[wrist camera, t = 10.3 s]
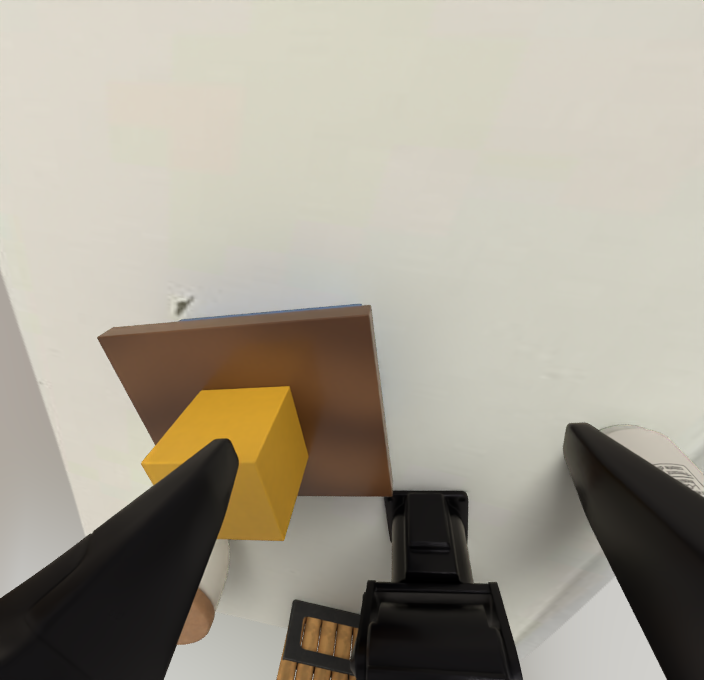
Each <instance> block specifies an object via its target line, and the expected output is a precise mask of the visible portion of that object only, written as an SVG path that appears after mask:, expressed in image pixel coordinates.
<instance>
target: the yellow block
mask: <svg viewBox="0 0 704 680" xmlns="http://www.w3.org/2000/svg"><path fill="white" fill-rule="evenodd" d="M221 438H227V439H229V440H231V442H232V444H233V447H234V449H235V451H236V453H237V456H238V458H239V467H238V471H237V475H236V478H235V482H234V486H233V489H232V493H231V497H230V501H229V504H228V508H227V511H226V515H225V518H224V521H223V524H222V527H221V529H220V532H219V534H218V537H217V539H234V540H268V541H284V539H285V536H286V532H287V529H288V525H289V522H290V519H291V515H292V512H293V508H294V505H295V502H296V498H297V495H298V491H299V488H300V484H301V481H302V478H303V474H304V471H305V467H306V464H307V460H308V457H309V456H308V452H307V448H306V445H305V441H304V437H303V434H302V430H301V426H300V423H299V419H298V415H297V412H296V408H295V404H294V401H293V397H292V393H291V390H290V387H289V386H280V387H259V388H239V389H219V390H202V391H200V392H199V393H198V395H197V396H196V397H195V398H194V399H193V401H192V402H191V403H190V404H189V406H188V407H187V408H186V409H185V410H184V412H183V413H182V414H181V415H180V416H179V418H178V419H177V420H176V421H175V422H174V424H173V425H172V426H171V427H170V428H169V430H168V431H167V432H166V433H165V435H164V436H163V437H162V438H161V439H160V441H159V442H158V443H157V444H156V445H155V447H154V448H153V449H152V450H151V451H150V453H149V454H148V455H147V456H146V457H145V459H144V460H143V461H142V463H141V465H142V466H143V468H144V470H145V472H146V473H147V475H148V477H149V478H150V480H151V482H152V483H153V485H155V484H156V483H158V482H159V481H160V480H161V479H163V478H164V477H165V476H167V475H168V474H169V473H171V472H172V471H173V470H175V469H176V468H177V467H179V466H180V465H181V464H182V463H184V462H185V461H186V460H188V459H189V458H190V457H192V456H193V455H194V454H196V453H197V452H198V451H200V450H201V449H202V448H203V447H205V446H206V445H207V444H209V443H210V442H211V441H213V440H214V439H221Z"/></svg>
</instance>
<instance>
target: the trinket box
mask: <svg viewBox="0 0 704 680" xmlns="http://www.w3.org/2000/svg"><path fill="white" fill-rule="evenodd" d="M229 561H230V549H229V542H228V539H217V540H216V542H215V545H214V548H213V550H212V553H211V556H210V558H209V561H208V564H207V566H206V569H205V572H204V574H203V577H202V579H201V582H200V585H199V587H198V590H197V593H196V595H195V598H194V601H193V603H192V606H191V609H190V611H189V614H188V617H187V619H186V622H185V624H184V627H183V630H182V632H181V635H180V638H179V640H178V643H177V645H184V644H190V643H194V642H197V641H199V640H201V639H202V638H204V637H205V636H206V635H207V634H208V632H209V630H210V627H211V625H212V622H213V620H214V615H215V611H216V608H217V606H218V603H219V601H220V598H221V595H222V592H223V589H224V586H225V582H226V578H227V574H228V568H229Z"/></svg>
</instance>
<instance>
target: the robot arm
mask: <svg viewBox="0 0 704 680" xmlns="http://www.w3.org/2000/svg"><path fill="white" fill-rule="evenodd" d="M563 454H564V458H565V460H566V463H567V466H568V469H569V471H570V474H571V477H572V479H573V482H574V485H575V488H576V490H577V493H578V496H579V498H580V501H581V504H582V507H583V509H584V512H585V514H586V517H587V519H588V521H589V523H590V526H591V528H592V530H593V532H594V534H595V536H596V538H597V540H598V542H599V544H600V546H601V548H602V550H603V552H604V554H605V556H606V558H607V560H608V562H609V564H610V566H611V568H612V570H613V572H614V574H615V576H616V578H617V580H618V582H619V584H620V586H621V588H622V590H623V592H624V594H625V596H626V598H627V600H628V602H629V604H630V606H631V608H632V610H633V612H634V614H635V616H636V618H637V620H638V622H639V624H640V626H641V628H642V630H643V632H644V634H645V636H646V638H647V640H648V642H649V644H650V646H651V648H652V650H653V652H654V654H655V656H656V658H657V660H658V662H659V665H660V667H661V668H662V671H663V673H664V674H665V677H666V678H667V680H704V497H703V496H702V495H700V494H698V493H697V492H695V491H694V490H692V489H691V488H689V487H687V486H686V485H684V484H683V483H681V482H680V481H678V480H676V479H675V478H673V477H672V476H670V475H669V474H667V473H665V472H664V471H662V470H661V469H659V468H658V467H656V466H654V465H653V464H651V463H650V462H648V461H647V460H645V459H643V458H642V457H640V456H639V455H637V454H636V453H634V452H632V451H631V450H629V449H628V448H626V447H625V446H623V445H622V444H620V443H618V442H617V441H615V440H614V439H612V438H611V437H609V436H607V435H606V434H604V433H603V432H601V431H600V430H598V429H596V428H595V427H593V426H592V425H590V424H588V423H570V424H568V425H567V427H566V432H565V438H564V444H563ZM238 467H239V458H238V456H237V453H236V451H235V449H234V447H233V444H232V442H231V440H229V439H227V438H221V439H214V440H213V441H211V442H210V443H209V444H207V445H206V446H205V447H203V448H202V449H201V450H200V451H198V452H197V453H196V454H194V455H193V456H192V457H190V458H189V459H188V460H186V461H185V462H184V463H182V464H181V465H180V466H179V467H177V468H176V469H175V470H173V471H172V472H171V473H169V474H168V475H167V476H165V477H164V478H163V479H161V480H160V481H159V482H158V483H156V484H155V485H154V486H152V487H151V488H150V489H148V490H147V491H146V492H144V493H143V494H142V495H140V496H139V497H138V498H136V499H135V500H134V501H133V502H131V503H130V504H129V505H127V506H126V507H125V508H123V509H122V510H121V511H119V512H118V513H117V514H115V515H114V516H113V517H111V518H110V519H109V520H108V521H106V522H105V523H104V524H102V525H101V526H100V527H98V528H97V529H96V530H94V531H93V533H92V534H89V535H88V536H86V537H85V538H84V539H83V540H81V541H80V542H79V543H77V544H76V545H75V546H73V547H72V548H71V549H69V550H68V551H67V552H65V553H64V554H63V555H61V556H60V557H58V558H57V559H56V560H54V561H53V562H52V563H50V564H49V565H48V566H46V567H45V568H43V569H42V570H41V571H39V572H38V573H36V574H35V575H34V576H32V577H31V578H29V579H28V580H26V581H25V582H23V583H22V584H21V585H19V586H18V587H16V588H15V589H13V590H12V591H10V592H9V593H7V594H6V595H4V596H3V597H2V598H0V680H164V677H165V675H166V672H167V669H168V667H169V664H170V662H171V658H172V656H173V653H174V651H175V648H176V646H177V643H178V640H179V638H180V635H181V632H182V630H183V627H184V624H185V622H186V619H187V617H188V614H189V611H190V609H191V606H192V603H193V601H194V598H195V595H196V593H197V590H198V587H199V585H200V582H201V579H202V577H203V574H204V572H205V569H206V566H207V564H208V561H209V558H210V556H211V553H212V550H213V548H214V545H215V542H216V540H217V537H218V534H219V532H220V529H221V527H222V524H223V521H224V518H225V515H226V511H227V508H228V504H229V501H230V497H231V493H232V489H233V486H234V482H235V478H236V475H237V471H238ZM384 500H385V507H386V514H387V521H388V528H389V535H390V541H391V543H392V579H391V582H376V581H375V580H368V582H367V588H366V592H364V594H363V601H362V608H361V614H360V621H359V627H358V633H357V637H356V640H355V644H354V647H353V651H352V654H351V659H350V669H351V671H352V673H353V674H354V676H355V677H356V680H523V677H522V673H521V668H520V663H519V659H518V655H517V651H516V647H515V644H514V640H513V636H512V633H511V629H510V626H509V622H508V619H507V615H506V612H505V608H504V605H503V601H502V598H501V594H500V591H499V587H498V584H497V582H488V584H480V583H474V582H473V576H472V571H471V565H470V560H469V554H468V548H467V538H468V496H467V493H466V492H464V491H393V495H392V496H391V497H384Z"/></svg>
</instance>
